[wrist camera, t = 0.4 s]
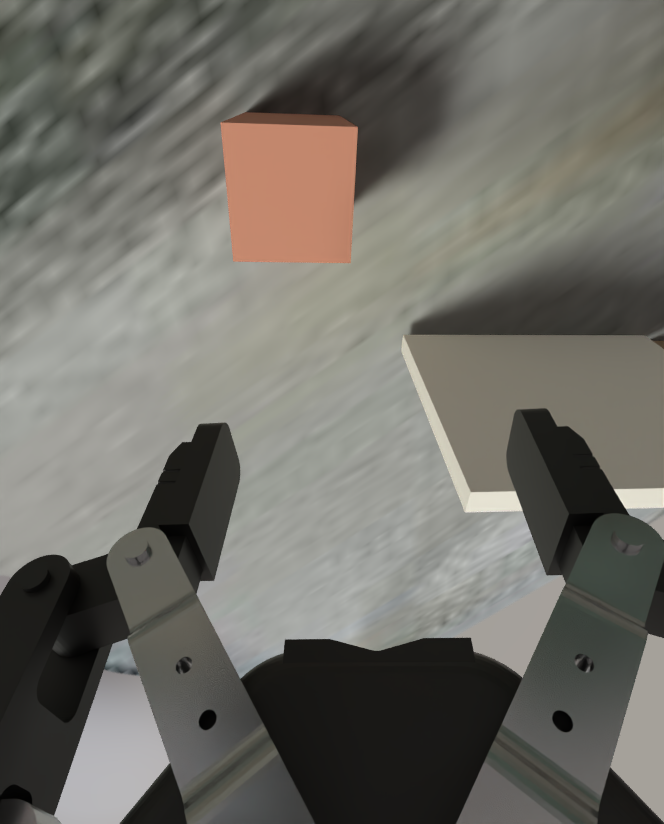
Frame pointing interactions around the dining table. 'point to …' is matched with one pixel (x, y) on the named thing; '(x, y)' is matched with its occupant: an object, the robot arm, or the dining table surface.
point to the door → (543, 406)
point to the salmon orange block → (290, 186)
